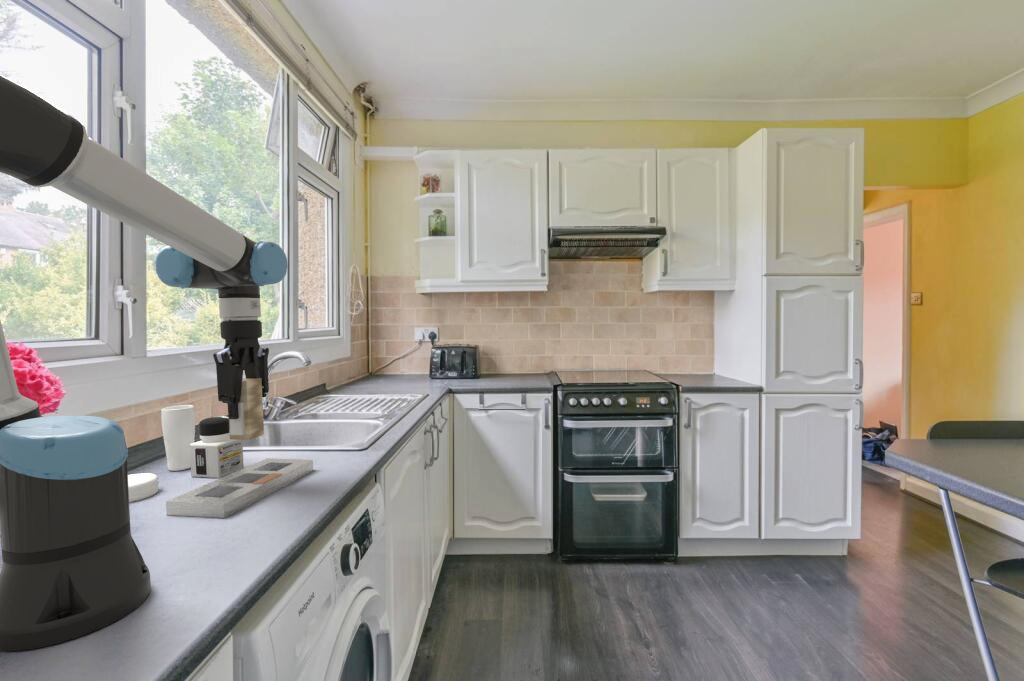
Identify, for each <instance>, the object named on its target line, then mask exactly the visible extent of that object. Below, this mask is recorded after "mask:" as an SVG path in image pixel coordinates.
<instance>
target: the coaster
mask: <svg viewBox="0 0 1024 681" xmlns="http://www.w3.org/2000/svg"><path fill="white" fill-rule="evenodd" d="M158 480H159V476H158V475H157V474H155V473H152V472H148V473H147V472H144V473H143V472H141V473H132V474H128V491H129V503H133V502H137V501H140V500H144V499H147V498H149V497H152V496H154V495H155V494H157V493H158V492H159V489H160V487H159V481H158Z"/></svg>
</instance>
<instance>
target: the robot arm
mask: <svg viewBox="0 0 1024 681" xmlns="http://www.w3.org/2000/svg"><path fill="white" fill-rule="evenodd" d="M0 173H2V174H5V175H8V176H9V177H13V178H14V179H18V180H19V181H21V182H24V183H26V184H28V185H30V186H31V187H35V188H44V187H52V188H55V189H56V190H59V191H61V192H62V193H64V194H67V195H69V197H72V198H73V199H76V200H78V201H79V202H82V203H84V204H85V205H88V206H90V207H92V208H93V209H96V210H98V212H99V211H100V212H102V213H103V214H105V215H107V216H109V217H111V218H113V219H115V220H117V221H119V222H121V223H122V224H123V223H124V225H127V226H128V227H131V228H133V229H135V230H137V231H139V232H141V233H143V234H144V235H147V236H149V237H150V238H151V239H152V238H153V239H154V240H156V241H158V242H160V243H162V244H164V245H166V246H163V247H162V248H161V249H160V250H159V252H158V253H157V255H156V257H155V261H154V262H155V272H156V275H157V277H158V279H159V280H160V281H161V282H162V283H163V284H164V285H166V286H167V287H171V288H172V287H173V288H181V289H182V290H183V289H199V290H200V289H203V290H204V289H205V290H207V289H208V290H209V289H210V290H218V291H217V292H218V308H219V310H218V311H219V318H221V319H222V321H221V322H220V323H219V329H220V337H221V339H223V340H224V341H225V344H224V346H223V349H222V350H221V351H215V352H213V354H212V356H213V360H214V363H215V368H216V371H215V372H216V384H217V385H216V386H217V399H218V402H222V403H223V404H227V417H228V418H229V419H230V433H231V435H244V434H245V425H244V406H243V402H240V396H241V388H242V379H243V377H244V376H245V378H261V381H262V398H266V397H267V394H268V393H269V390H270V389H269V388H270V387H269V365H268V364H269V362H268V360H269V359H268V358H269V353H270V350H269V349H270V348H269V347H261V345H260V343H259V338H262V337H263V326H262V321H261V320H260V319H259V318H261V317H262V309H261V308H262V307H261V289H260V288H261V287H264V286H268V285H276V284H278V283H281V281H283V280H284V279H285V277H286V274H287V271H288V258H287V256H286V253H285V251H284V249H283V248H282V247H281V246H280V245H279V244H278V243H276V242H273V241H264V240H260V241H258V242H257V241H254V240H252V239H250V238H248V237H247V236H245V235H244V234H243V233H241V232H239V231H237V230H236V229H234V228H232V227H231V226H229V225H228V224H226V223H225V222H223V221H222V220H221V219H218V218H217V217H215V216H214V215H212V214H211V213H209V212H207V211H206V210H204V209H203V208H201V207H199V206H198V205H197V204H195V203H193V202H192V201H190V200H189V199H187V198H186V197H184V196H182V195H180V193H177V192H176V191H175V190H173V189H171V188H170V187H168V186H167V185H165V184H163V183H162V182H161V181H159V180H157V179H156V178H154V177H152V176H151V175H149V174H148V173H146V172H144V171H143V170H141V169H140V168H139V167H137V166H135V165H134V164H132V163H131V162H129V161H128V160H126V159H124V158H123V157H121V156H119V155H118V154H116V153H115V152H113V151H112V150H111V149H108V148H107V147H105V146H104V145H102V144H101V143H99V142H97V141H96V140H94V139H92V138H91V137H90V136H88V133H87V129H86V126H85V125H84V123H82V122H81V121H80V120H78V118H76V117H74V116H73V115H71V114H70V113H68V112H66V110H63V109H62V108H60V107H59V106H57V105H56V104H54V103H52V102H51V101H50V100H48V99H46V98H44V97H42V96H41V95H39V94H37V93H36V92H34V91H33V90H30V89H28V88H27V87H25V86H23V85H21V84H19V83H18V82H16V81H14V80H12V79H11V78H8V77H6V76H4V75H1V74H0ZM233 395H234V396H233ZM128 457H129V449H128V446H127V442H126V437H125V431H124V428H123V427H122V426H121V424H120V423H118V422H117V421H115V420H114V419H113V420H112V419H111V418H107V417H102V416H97V415H87V414H85V415H83V414H82V415H81V414H80V415H68V414H67V415H66V414H65V415H63V414H62V415H50V416H42V414H41V410H40V407H39V403H38V401H36V400H33V399H31V398H28V397H26V396H24V395H22V394H21V393H20V391H19V387H18V384H17V380H16V377H15V372H14V369H13V364H12V361H11V356H10V353H9V348H8V345H7V341H6V337H5V333H4V330H3V325H2V320H1V319H0V546H1V559H2V562H1V563H2V566H1V570H0V651H8V652H9V651H10V652H11V651H12V652H13V651H15V652H16V651H24V650H25V651H26V650H33V649H39V648H46V647H47V646H53V645H57V644H61V643H64V642H67V641H70V640H74V639H76V638H80V637H82V636H85V635H88V634H90V633H92V632H95V631H97V630H99V629H102V628H104V627H107V626H109V625H110V624H112V623H114V622H116V621H119V620H120V619H121V618H124V617H125V616H127V615H128V614H130V613H132V612H133V611H134V610H135V609H137V608H138V607H139V606H141V605H142V604H143V603H144V602H145V601H146V600H147V598H148V597H149V596H150V594H151V590H152V586H151V582H152V581H151V572H150V570H149V568H148V567H149V566H148V565H146V563H145V561H144V558H143V556H142V553H141V552H140V550H139V548H138V546H137V544H136V542H135V540H134V538H133V536H132V532H131V513H130V512H131V510H130V502H129V491H128V475H129V472H128Z"/></svg>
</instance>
